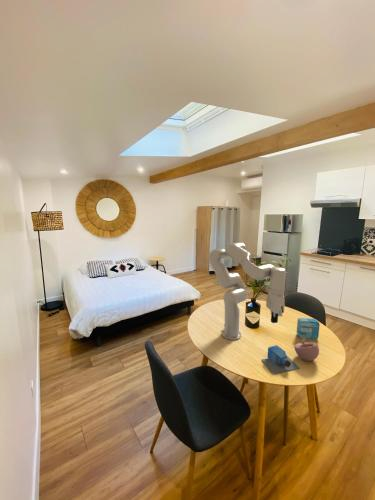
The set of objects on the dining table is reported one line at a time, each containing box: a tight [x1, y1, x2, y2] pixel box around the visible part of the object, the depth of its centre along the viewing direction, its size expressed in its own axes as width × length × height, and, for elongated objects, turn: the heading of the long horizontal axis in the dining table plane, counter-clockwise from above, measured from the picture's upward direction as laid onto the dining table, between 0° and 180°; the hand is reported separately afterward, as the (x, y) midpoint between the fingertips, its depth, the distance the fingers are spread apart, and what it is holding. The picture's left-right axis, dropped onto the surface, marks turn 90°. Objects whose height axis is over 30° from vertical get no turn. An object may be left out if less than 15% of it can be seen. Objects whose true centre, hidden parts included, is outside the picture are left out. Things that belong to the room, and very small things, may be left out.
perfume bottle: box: [267, 344, 291, 367], centre depth 122 cm, size 6×6×12 cm
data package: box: [296, 317, 321, 340], centre depth 147 cm, size 12×4×12 cm, turn 81°
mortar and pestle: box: [294, 338, 320, 362], centre depth 125 cm, size 12×12×12 cm
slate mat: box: [260, 355, 301, 375], centre depth 122 cm, size 11×16×1 cm
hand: (274, 322), depth 123 cm, fingers closed
